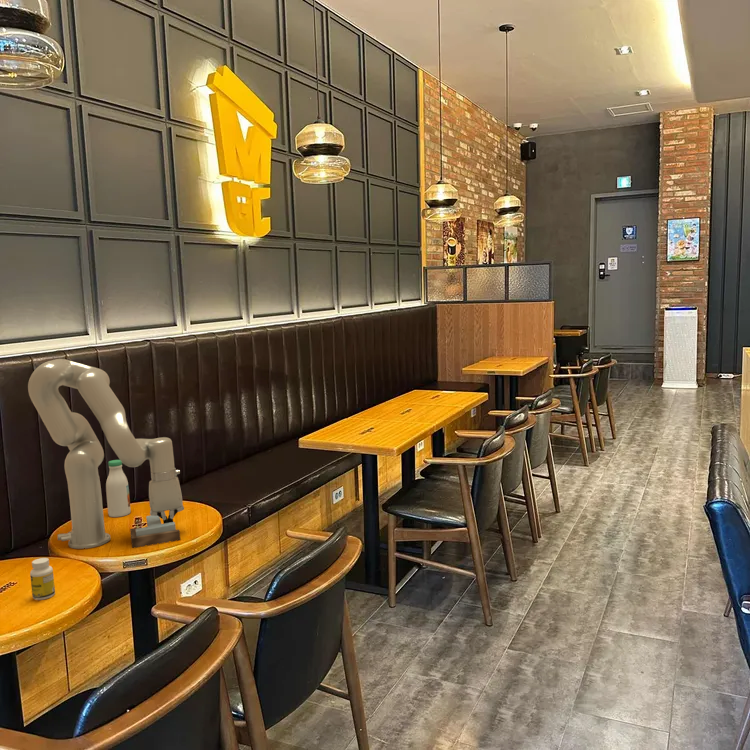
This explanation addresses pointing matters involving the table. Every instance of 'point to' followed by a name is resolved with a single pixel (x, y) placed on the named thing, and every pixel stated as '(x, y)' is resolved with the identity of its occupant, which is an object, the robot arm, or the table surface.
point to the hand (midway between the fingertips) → (169, 530)
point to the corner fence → (153, 538)
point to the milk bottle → (117, 490)
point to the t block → (155, 526)
